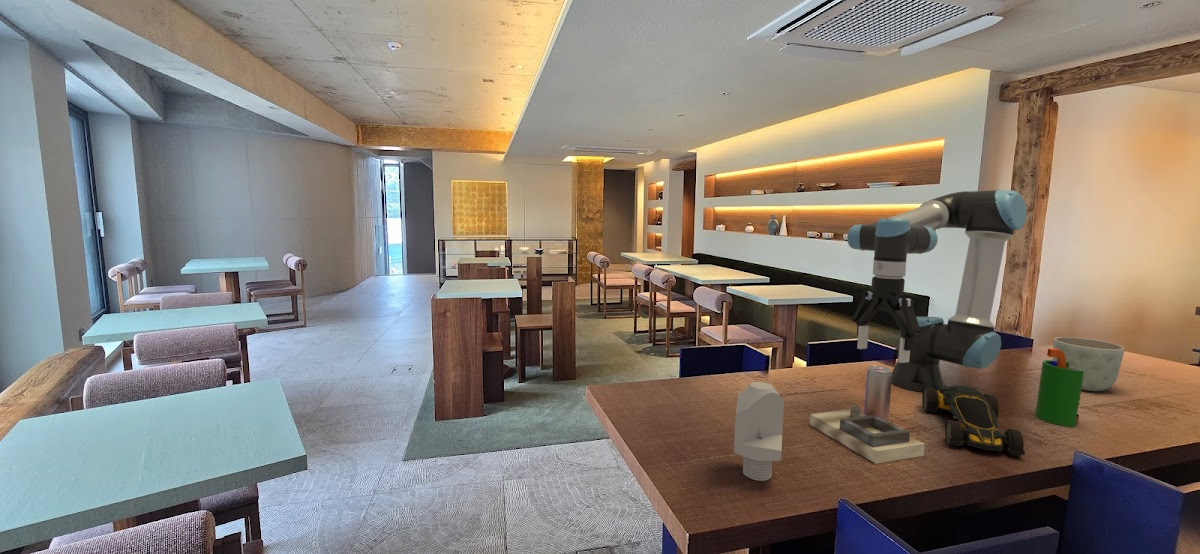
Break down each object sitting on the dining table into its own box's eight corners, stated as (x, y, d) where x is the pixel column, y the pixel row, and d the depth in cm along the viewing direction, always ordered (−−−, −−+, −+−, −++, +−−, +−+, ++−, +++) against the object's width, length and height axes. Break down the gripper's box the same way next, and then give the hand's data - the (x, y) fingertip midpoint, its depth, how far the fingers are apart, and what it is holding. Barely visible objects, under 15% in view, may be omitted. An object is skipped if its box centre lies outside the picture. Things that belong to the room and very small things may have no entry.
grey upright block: (732, 480, 105) (736, 389, 103) (737, 460, 114) (740, 376, 111) (779, 489, 102) (784, 395, 99) (780, 468, 111) (785, 381, 108)
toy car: (988, 415, 143) (991, 381, 142) (1030, 465, 114) (1035, 423, 113) (920, 406, 149) (923, 373, 148) (944, 450, 121) (948, 411, 119)
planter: (1109, 384, 169) (1115, 341, 167) (1126, 400, 155) (1133, 352, 153) (1043, 375, 178) (1048, 334, 176) (1054, 389, 164) (1059, 344, 162)
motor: (1089, 428, 134) (1099, 356, 131) (1050, 425, 135) (1059, 353, 133) (1062, 413, 143) (1071, 346, 141) (1026, 411, 145) (1034, 344, 143)
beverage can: (858, 417, 139) (862, 365, 137) (878, 417, 140) (883, 365, 138) (872, 426, 133) (876, 372, 131) (893, 426, 134) (897, 372, 132)
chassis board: (809, 424, 134) (811, 403, 133) (852, 419, 138) (853, 398, 137) (875, 463, 113) (877, 438, 112) (923, 456, 117) (925, 431, 116)
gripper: (841, 271, 142) (836, 344, 145) (919, 283, 119) (911, 369, 121) (862, 271, 144) (857, 342, 147) (943, 282, 121) (935, 367, 123)
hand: (881, 355), depth 134 cm, fingers open, 13 cm apart
